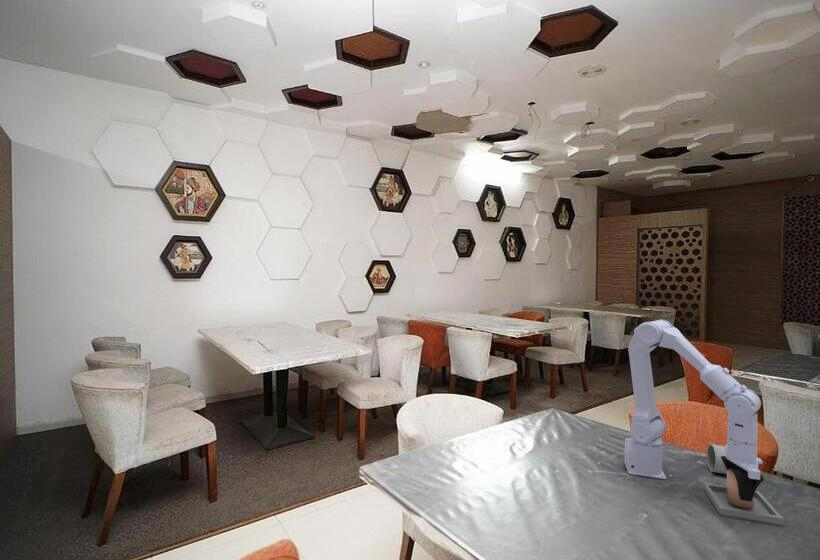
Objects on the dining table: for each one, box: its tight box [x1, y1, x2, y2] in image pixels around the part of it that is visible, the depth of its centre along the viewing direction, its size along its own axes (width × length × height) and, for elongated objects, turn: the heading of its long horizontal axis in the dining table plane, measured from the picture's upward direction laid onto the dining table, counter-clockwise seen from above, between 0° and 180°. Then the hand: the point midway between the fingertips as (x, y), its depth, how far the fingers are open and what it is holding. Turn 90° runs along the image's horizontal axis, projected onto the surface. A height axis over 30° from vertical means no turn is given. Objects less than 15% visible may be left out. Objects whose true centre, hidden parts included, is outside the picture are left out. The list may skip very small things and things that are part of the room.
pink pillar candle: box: [726, 469, 754, 508], centre depth 100 cm, size 5×5×7 cm
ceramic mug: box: [706, 443, 727, 475], centre depth 118 cm, size 11×8×8 cm
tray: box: [702, 482, 785, 527], centre depth 100 cm, size 12×12×2 cm
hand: (740, 493), depth 100 cm, fingers closed on pink pillar candle, 5 cm apart
